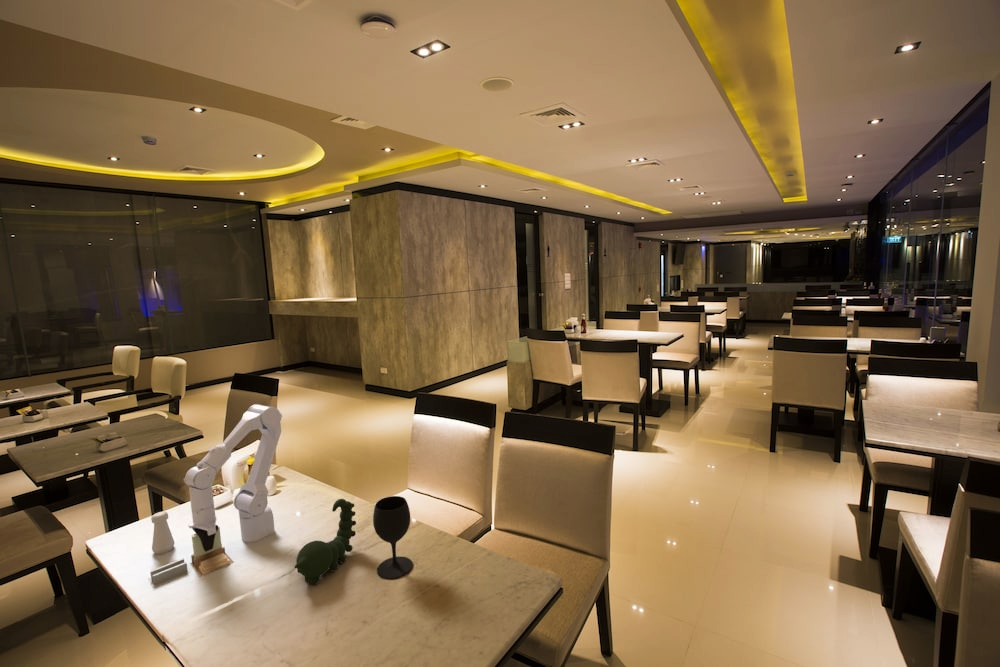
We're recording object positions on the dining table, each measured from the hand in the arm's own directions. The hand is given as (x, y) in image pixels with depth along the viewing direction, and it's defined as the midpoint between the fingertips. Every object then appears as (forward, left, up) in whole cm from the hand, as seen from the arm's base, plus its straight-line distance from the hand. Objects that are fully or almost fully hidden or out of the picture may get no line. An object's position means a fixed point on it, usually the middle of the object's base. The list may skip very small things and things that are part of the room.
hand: (207, 548), depth 140 cm
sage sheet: (0, 0, -3) cm, 3 cm away
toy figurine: (-22, +32, -4) cm, 39 cm away
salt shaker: (+8, -17, -4) cm, 19 cm away
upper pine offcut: (0, +6, -2) cm, 6 cm away
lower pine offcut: (0, +6, -3) cm, 6 cm away
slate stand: (+10, 0, -4) cm, 11 cm away
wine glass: (-35, +47, -4) cm, 59 cm away
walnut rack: (0, +3, -4) cm, 5 cm away
